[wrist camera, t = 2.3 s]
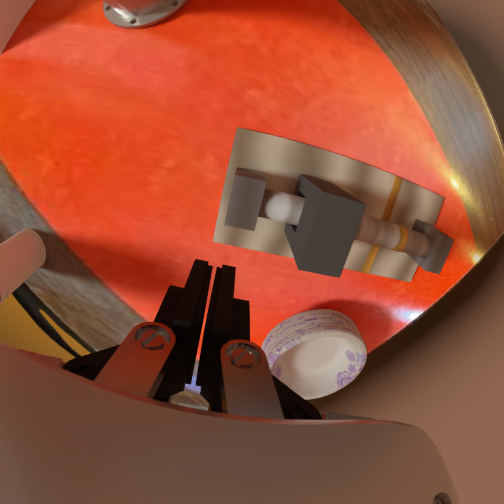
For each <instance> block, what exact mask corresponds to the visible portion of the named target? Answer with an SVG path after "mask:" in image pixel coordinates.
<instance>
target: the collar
mask: <svg viewBox="0 0 504 504" xmlns="http://www.w3.org/2000/svg"><path fill="white" fill-rule="evenodd" d="M294 195H296V196H300V197H304V198H306V199H305V202H304V206H303V209H302V213H301V216H300V219H299V223H298V226H297V225H293V224H289V223H286V225H285V228H284V232H285V234H286V237H287V240H288V242H289V245H290V248H291V250H292V253H293V256H294V259H295V261H296V264H297V267H298V270H303V271H308V272H313V273H318V274H323V275H328V276H334V277H339V278H340V275H341V273H342V270H343V268H344V265H345V263H346V260H347V257H348V255H349V252H350V250H351V247H352V244H353V242H354V239H355V236H356V233H357V231H358V228H359V225H360V222H361V219H362V216H363V213H364V210H365V207H366V204H365V203H363V202H362V201H360V200H358V199H357V198H355V197H354V196H352V195H351V194H349V193H348V192H346V191H344V190H343V189H341V188H340V187H338V186H336V185H335V184H333V183H331V182H328V181H324V180H321V179H317V178H314V177H310V176H306V175H303V174H299V178H298V182H297V185H296V189H295V193H294Z"/></svg>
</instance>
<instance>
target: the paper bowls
mask: <svg viewBox="0 0 504 504" xmlns="http://www.w3.org/2000/svg"><path fill="white" fill-rule="evenodd" d="M261 349H262V350H263V351H264V352H265V354H266V357H267V360H268V364H269V367H270V371H271V374H273V375H274V376H275V377H276V378H278V379H279V380H280V381H281V382H283V383H284V384H285V385H287V386H288V387H289V388H290V389H292V390H293V391H294V392H296V393H297V394H298V395H300V396H301V397H302V398H304V399H305V400H306V399H314V398H319V397H323V396H325V395H329V394H331V393H334V392H336V391H338V390H340V389H341V388H343V387H345V386H346V385H347V384H349V383H350V382H351V381H352V380H353V379H355V377H356V376H357V375H358V374H359V373H360V371H361V370H362V369H363V367H364V364H365V362H366V358H367V347H366V344H365V343H364V341H363V338H362V336H361V334H360V332H359V330H358V329H357V326H356V325H355V323H354V322H353V320H351V319H350V318H349V317H348V316H346V315H345V314H343V313H341V312H338V311H335V310H330V309H318V310H310V311H306V312H301V313H298V314H296V315H294V316H291V317H290V318H288V319H286V320H284V321H282V322H281V323H279V324H278V325H277V326H276V327H275V328H273V329H272V330H271V331H270V332H269V334H268V335H267V337H266V338H265V340H264V342H263V344H262V348H261Z"/></svg>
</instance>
